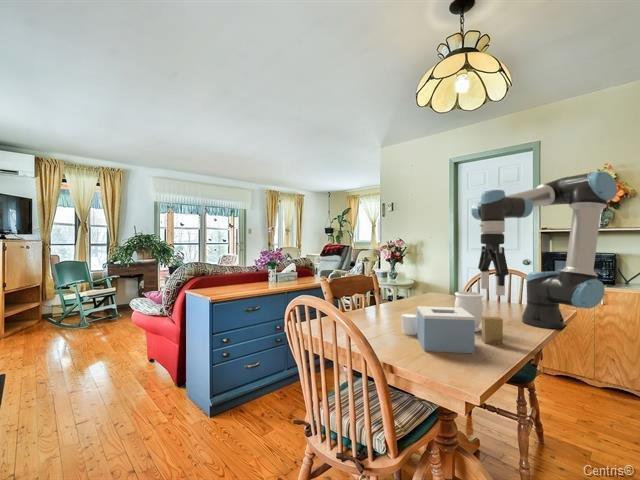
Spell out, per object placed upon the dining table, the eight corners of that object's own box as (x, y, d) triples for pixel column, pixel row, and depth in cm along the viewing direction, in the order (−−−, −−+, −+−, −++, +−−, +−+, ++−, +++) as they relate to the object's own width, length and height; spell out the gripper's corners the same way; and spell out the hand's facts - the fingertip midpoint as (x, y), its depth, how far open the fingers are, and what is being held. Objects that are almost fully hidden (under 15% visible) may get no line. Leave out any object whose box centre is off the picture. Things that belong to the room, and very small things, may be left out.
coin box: (461, 339, 116) (461, 307, 116) (474, 353, 102) (474, 317, 102) (417, 337, 118) (417, 306, 118) (424, 350, 104) (424, 315, 104)
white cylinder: (419, 335, 120) (419, 317, 120) (401, 334, 122) (401, 317, 122) (417, 330, 127) (417, 313, 127) (400, 329, 129) (400, 312, 128)
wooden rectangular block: (499, 341, 114) (499, 317, 114) (502, 344, 111) (502, 319, 111) (481, 340, 115) (481, 316, 114) (484, 343, 112) (484, 318, 111)
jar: (476, 326, 134) (477, 291, 133) (487, 333, 123) (487, 295, 123) (451, 325, 135) (451, 290, 134) (459, 332, 124) (459, 295, 124)
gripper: (469, 233, 125) (469, 286, 125) (495, 232, 100) (495, 298, 101) (489, 233, 124) (489, 286, 124) (520, 232, 99) (520, 298, 100)
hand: (491, 291), depth 112 cm, fingers open, 13 cm apart
